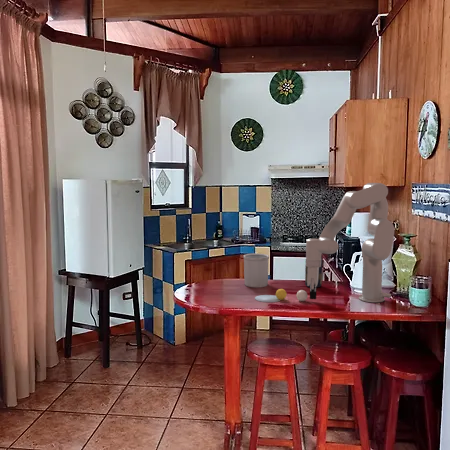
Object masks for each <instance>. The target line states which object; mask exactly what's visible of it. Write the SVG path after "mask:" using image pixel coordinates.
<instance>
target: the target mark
mask: <svg viewBox="0 0 450 450" xmlns="http://www.w3.org/2000/svg"><path fill="white" fill-rule="evenodd" d="M255 300H256V301H258V302H262V303H277V302H281V301H280V299H278V298H277V297H276V294H275V295H273V294H262V295H256V296H255V297H254V301H255Z"/></svg>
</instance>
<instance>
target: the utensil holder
mask: <svg viewBox="0 0 450 450" xmlns="http://www.w3.org/2000/svg"><path fill="white" fill-rule="evenodd" d="M269 258H270V255H268V254H267V253H266V254H265V253H247V254H244V255H243V270H244V271H243V276H244V286H246V287H250V288H263V287H267V286H268V284H269Z"/></svg>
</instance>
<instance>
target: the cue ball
mask: <svg viewBox="0 0 450 450" xmlns="http://www.w3.org/2000/svg"><path fill="white" fill-rule="evenodd" d="M296 298H297V300H298V301H300V302H304V301H305V302H306V300H307V299H308V292H307V291H305V290H303V289H300V290H298V291H297V293H296Z"/></svg>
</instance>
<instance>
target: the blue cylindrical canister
mask: <svg viewBox="0 0 450 450" xmlns="http://www.w3.org/2000/svg"><path fill="white" fill-rule="evenodd" d="M304 265H305V267H304V270H305V271H304V273H305V274H304V277H305V278H304V279H305V280H304V285H305V286H306V287H309V288H310V285H309V286H307V274H308V267H307V266H306V264H304ZM322 283H323V258H322V257H321V267H319V274H318V284H317V286H316V288H320V287H321V286H322Z"/></svg>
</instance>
